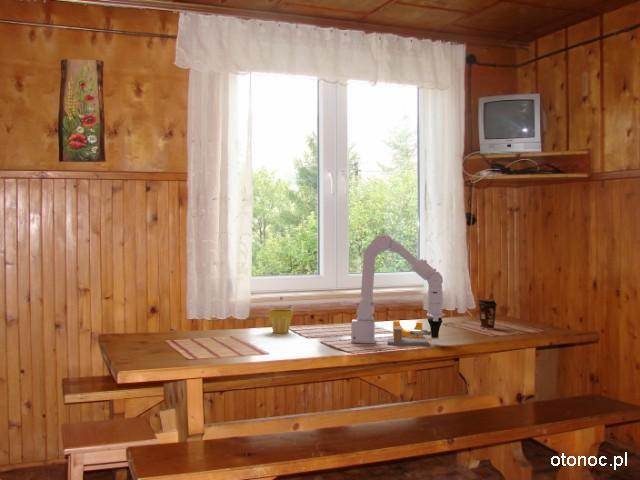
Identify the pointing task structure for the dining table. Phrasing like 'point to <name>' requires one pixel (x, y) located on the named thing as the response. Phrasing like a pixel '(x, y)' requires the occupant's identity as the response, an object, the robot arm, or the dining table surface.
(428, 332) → the pin
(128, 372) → the dining table surface
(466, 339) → the dining table surface
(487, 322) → the coffee cup
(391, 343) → the eye block
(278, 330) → the plant pot
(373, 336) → the robot arm
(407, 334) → the pipe clamp
